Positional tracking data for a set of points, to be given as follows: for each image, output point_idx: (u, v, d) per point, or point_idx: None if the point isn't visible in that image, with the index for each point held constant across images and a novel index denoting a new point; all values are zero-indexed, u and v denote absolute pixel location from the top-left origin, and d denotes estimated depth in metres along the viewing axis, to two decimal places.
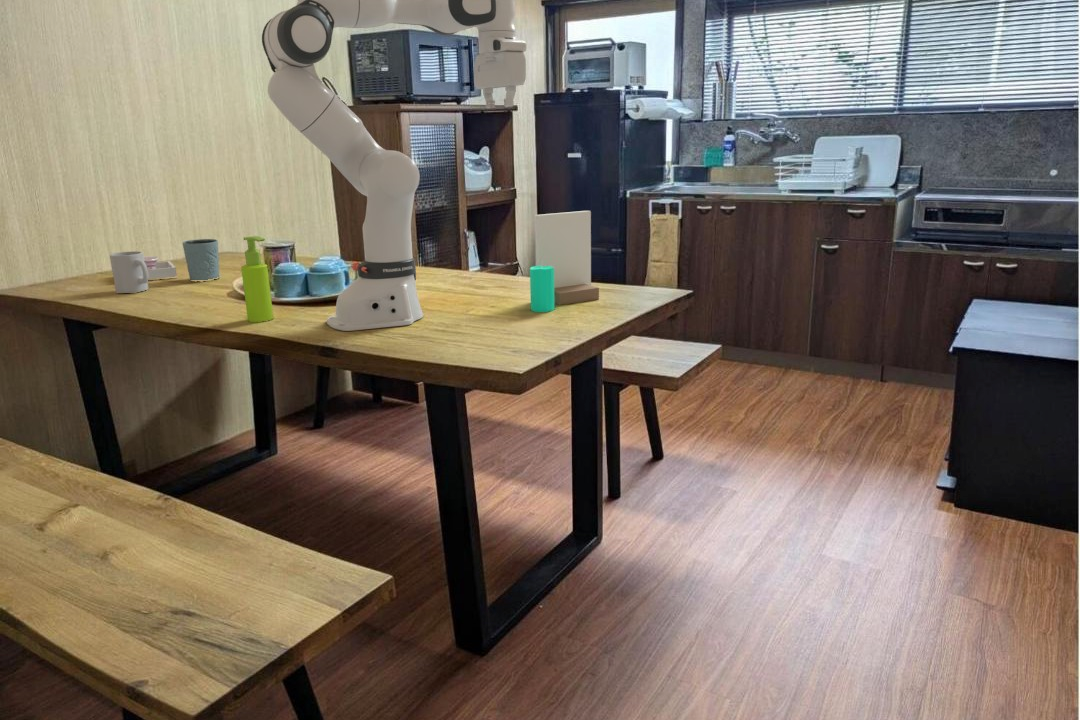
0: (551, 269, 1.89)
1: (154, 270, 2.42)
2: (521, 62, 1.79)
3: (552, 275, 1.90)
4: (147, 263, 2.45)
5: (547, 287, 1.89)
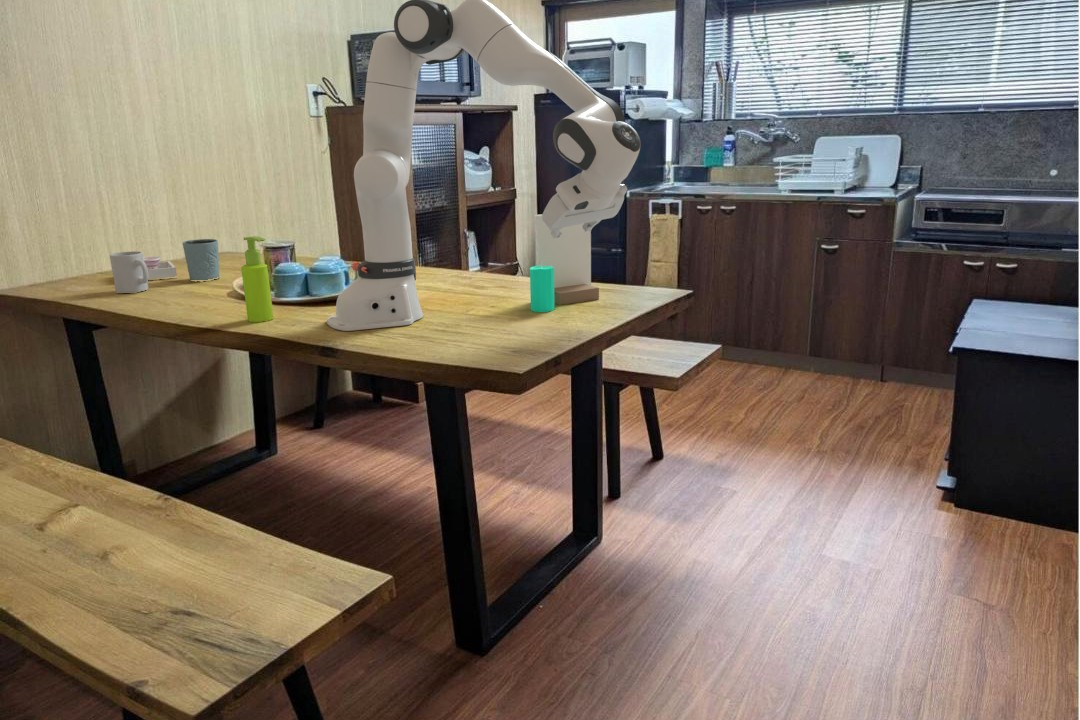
0: (551, 269, 1.89)
1: (154, 270, 2.42)
2: (555, 213, 1.68)
3: (552, 275, 1.90)
4: (149, 263, 2.45)
5: (547, 287, 1.89)
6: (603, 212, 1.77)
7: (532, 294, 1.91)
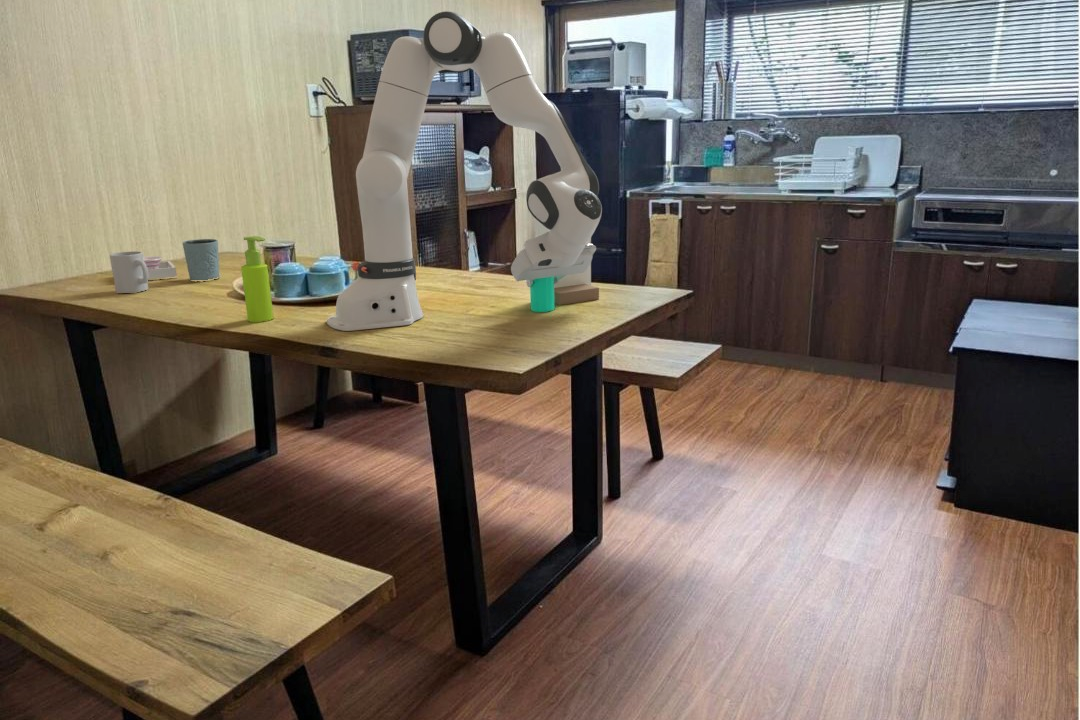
0: None
1: (154, 270, 2.42)
2: (521, 266, 1.80)
3: None
4: (150, 263, 2.45)
5: (546, 287, 1.89)
6: (572, 268, 1.88)
7: (532, 294, 1.91)
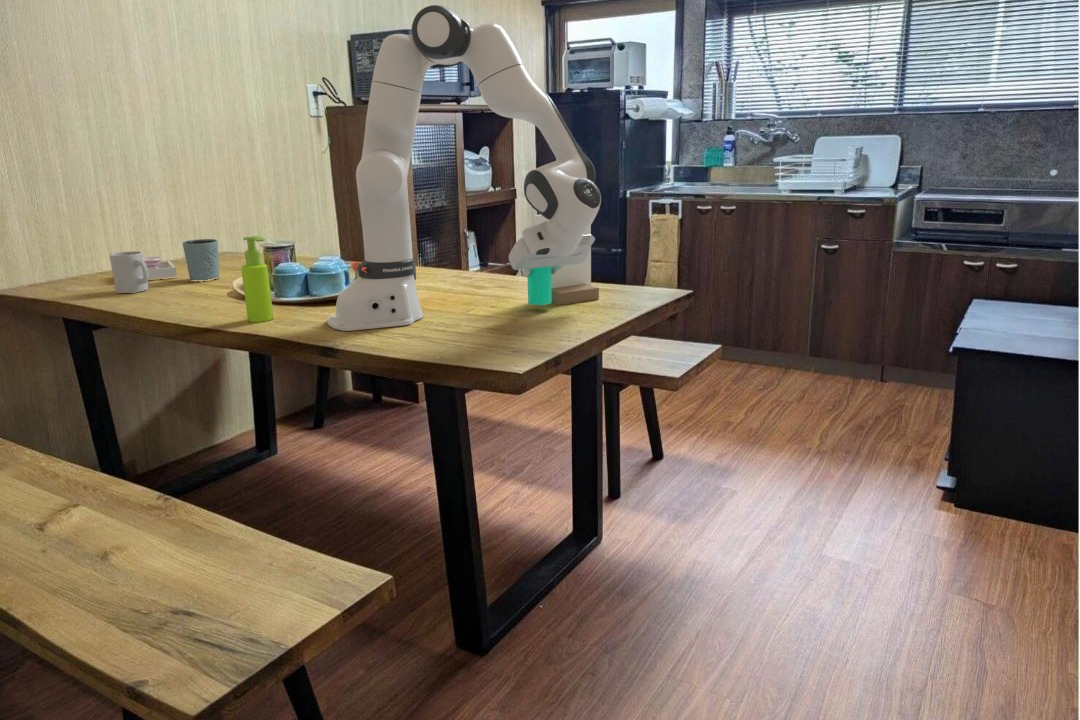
0: None
1: (154, 270, 2.42)
2: (518, 255, 1.79)
3: (549, 268, 1.89)
4: (150, 263, 2.45)
5: (543, 280, 1.89)
6: (570, 258, 1.87)
7: (529, 287, 1.90)
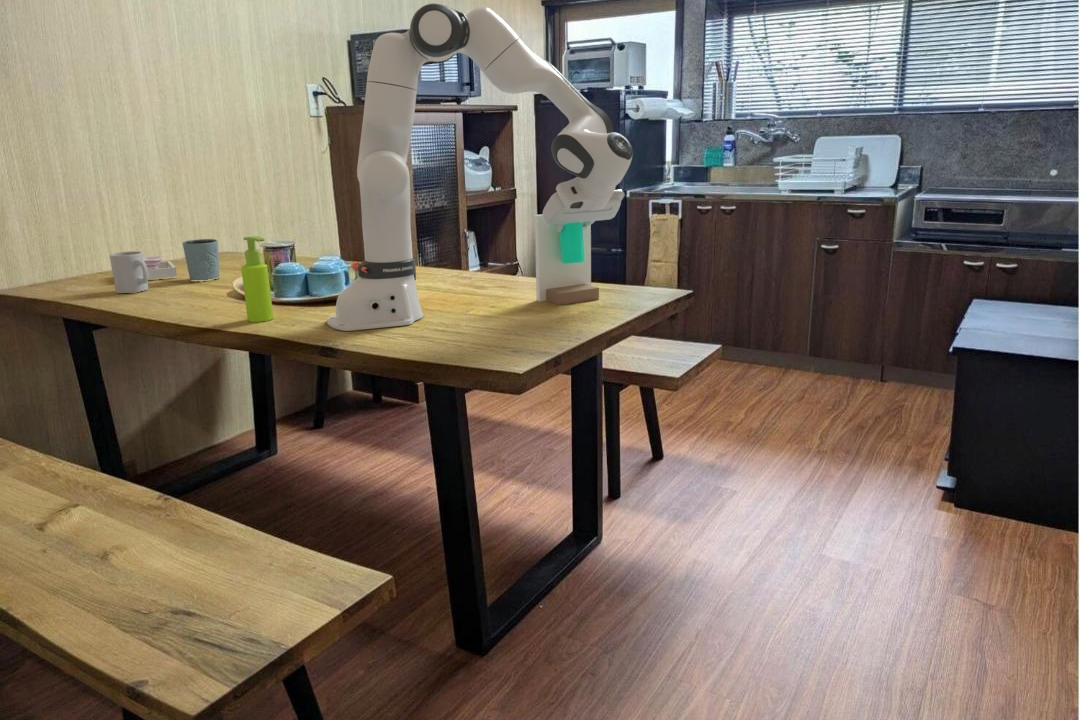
0: None
1: (154, 270, 2.42)
2: (553, 209, 1.86)
3: (581, 227, 1.97)
4: (150, 263, 2.45)
5: (576, 238, 1.96)
6: (601, 214, 1.95)
7: (562, 246, 1.98)
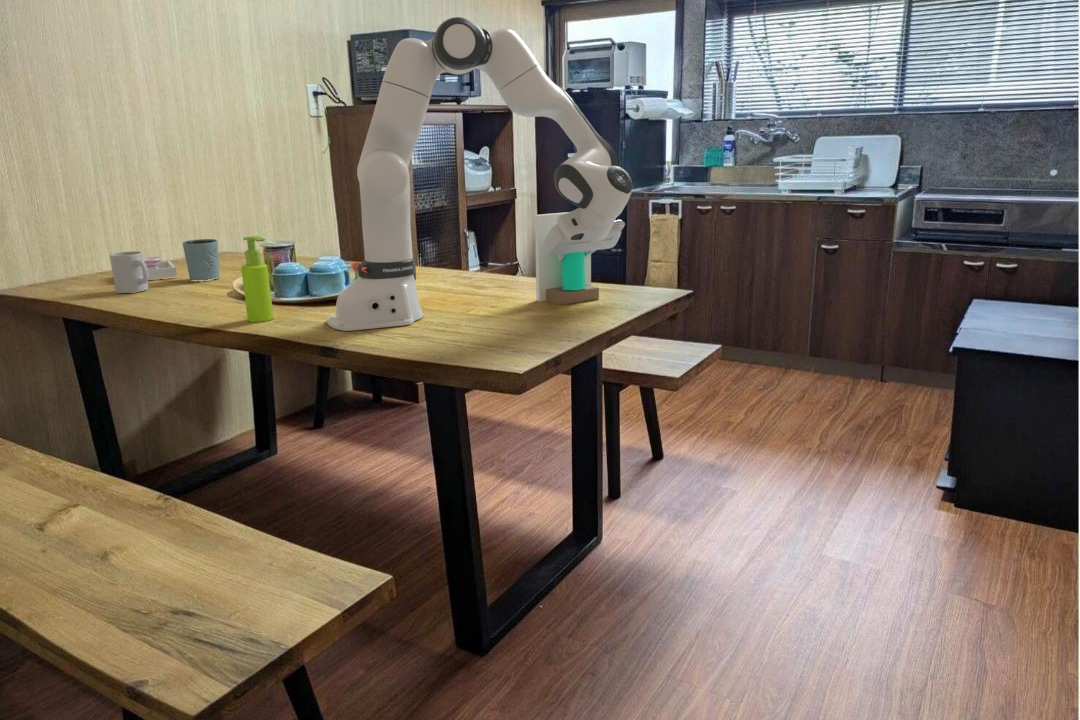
0: None
1: (154, 270, 2.42)
2: (554, 241, 1.88)
3: (582, 254, 1.98)
4: (150, 263, 2.45)
5: (577, 266, 1.98)
6: (601, 243, 1.97)
7: (563, 273, 1.99)
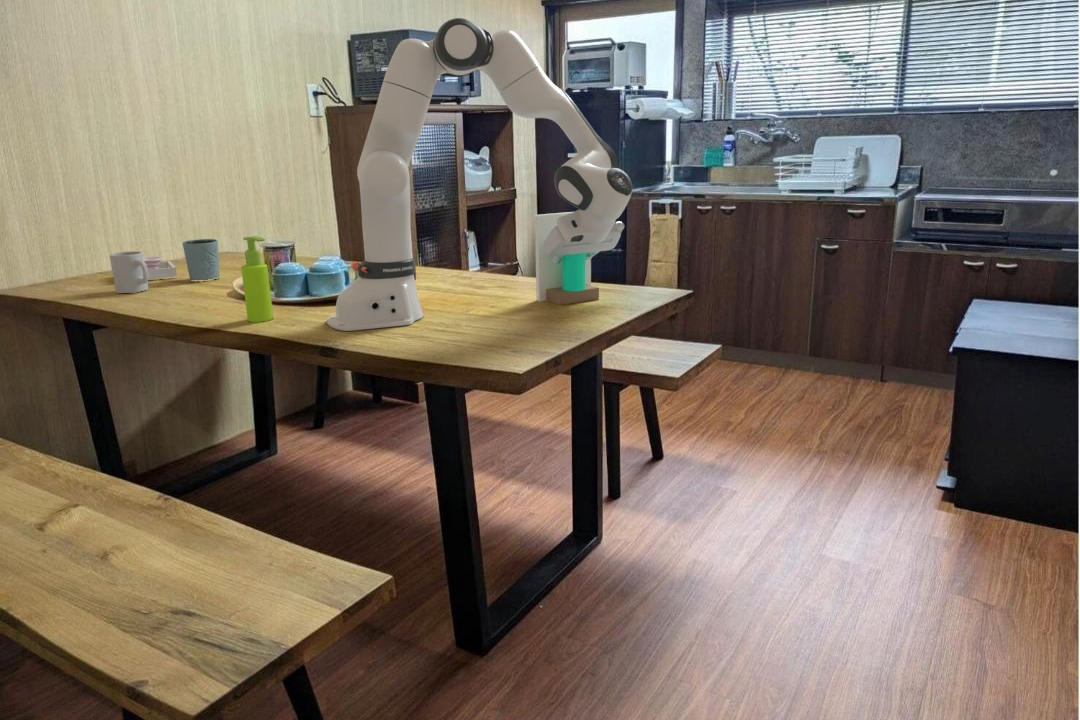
0: None
1: (154, 270, 2.42)
2: (553, 242, 1.89)
3: (583, 256, 1.98)
4: (150, 263, 2.45)
5: (578, 268, 1.97)
6: (601, 245, 1.97)
7: (564, 274, 1.99)
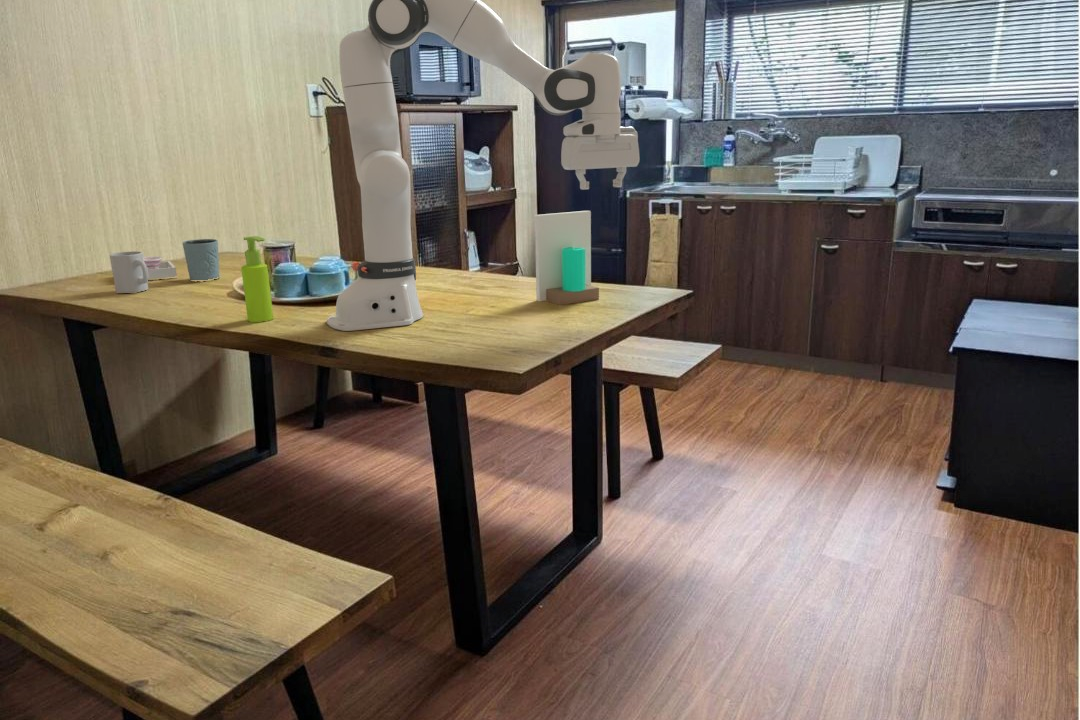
0: (582, 250, 1.97)
1: (154, 270, 2.42)
2: (568, 147, 1.76)
3: (583, 256, 1.98)
4: (150, 263, 2.45)
5: (578, 268, 1.97)
6: (622, 155, 1.83)
7: (564, 274, 1.99)
